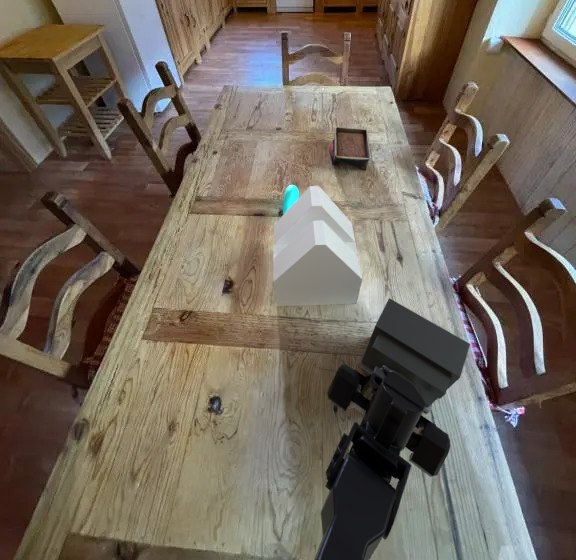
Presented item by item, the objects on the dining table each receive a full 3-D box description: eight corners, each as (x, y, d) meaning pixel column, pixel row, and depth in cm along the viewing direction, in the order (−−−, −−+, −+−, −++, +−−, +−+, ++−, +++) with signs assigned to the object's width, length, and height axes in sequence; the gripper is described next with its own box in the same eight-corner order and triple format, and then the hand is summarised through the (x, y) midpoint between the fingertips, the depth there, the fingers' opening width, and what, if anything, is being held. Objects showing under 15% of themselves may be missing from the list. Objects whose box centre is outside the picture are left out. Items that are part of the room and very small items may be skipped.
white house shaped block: (275, 306, 81) (269, 246, 64) (276, 251, 92) (270, 187, 75) (356, 303, 81) (371, 243, 64) (346, 249, 92) (357, 184, 75)
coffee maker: (423, 426, 64) (457, 399, 50) (351, 376, 70) (364, 339, 56) (439, 379, 70) (474, 343, 56) (371, 336, 76) (387, 294, 62)
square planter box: (369, 150, 125) (371, 125, 119) (370, 177, 111) (372, 151, 105) (330, 148, 128) (330, 124, 122) (326, 176, 113) (326, 150, 108)
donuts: (289, 200, 106) (288, 177, 99) (321, 204, 104) (323, 181, 97) (282, 225, 99) (281, 202, 92) (316, 230, 97) (318, 207, 90)
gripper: (469, 442, 44) (463, 386, 58) (340, 354, 52) (363, 323, 66) (432, 514, 45) (435, 442, 59) (311, 417, 53) (340, 374, 67)
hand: (392, 391), depth 63 cm, fingers open, 8 cm apart
